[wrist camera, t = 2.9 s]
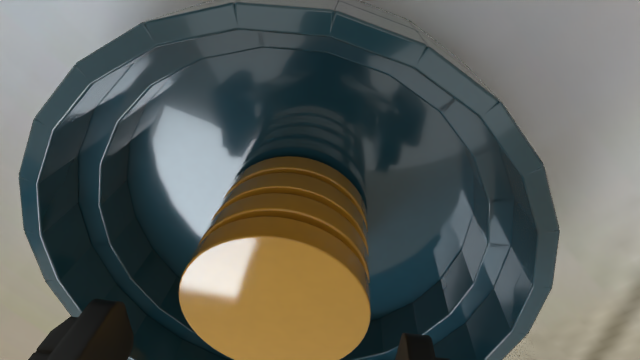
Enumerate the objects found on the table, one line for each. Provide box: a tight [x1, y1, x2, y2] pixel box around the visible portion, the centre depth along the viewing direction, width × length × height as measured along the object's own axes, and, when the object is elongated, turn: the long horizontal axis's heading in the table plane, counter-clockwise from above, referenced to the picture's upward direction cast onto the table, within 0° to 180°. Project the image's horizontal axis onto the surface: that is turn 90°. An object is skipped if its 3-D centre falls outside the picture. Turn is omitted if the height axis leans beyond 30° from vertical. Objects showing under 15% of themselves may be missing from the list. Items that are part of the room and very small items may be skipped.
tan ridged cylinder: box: [179, 156, 371, 360], centre depth 14 cm, size 6×6×5 cm
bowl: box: [19, 0, 560, 360], centre depth 15 cm, size 17×17×4 cm
